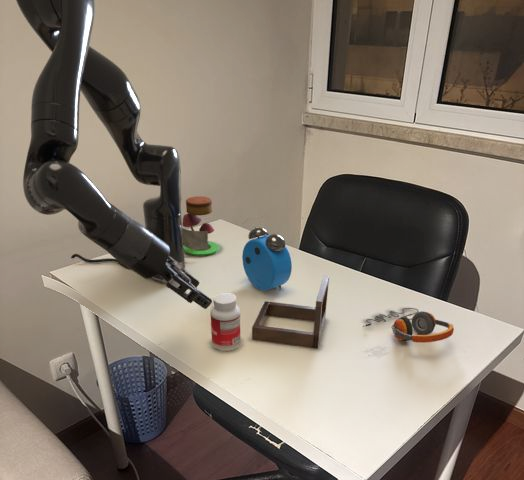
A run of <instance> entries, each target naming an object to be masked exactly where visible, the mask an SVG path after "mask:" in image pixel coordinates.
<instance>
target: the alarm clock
mask: <svg viewBox="0 0 524 480" xmlns="http://www.w3.org/2000/svg"><path fill="white" fill-rule="evenodd" d="M247 238H248V241H247V242H246V243H245V245H244V247H243V249H242V256H241V257H242V267H243V270H244V273H245V275H246V277H247V279H248V280H249V282H250V283H251V285H252V286H253V287H254V288H256V289H257V290H260V291H265V292H266V291H269V290H272V289H276V288H279V290H282V285H285V284H286V283H287V282H288V281H289V280H290V277H291V275H292V270H293V269H292V268H293V265H292V257H291V254H290V252H289V249H288V247H287V245H286V241H285V239H284V238H283V236H281V235H279V234H278V233H272V234H269V232H268V231H267V229H265V228H263V227H259V226H258V227H257V226H255V227H254V228H253V229H251V230H250V231H249V233H248V236H247Z"/></svg>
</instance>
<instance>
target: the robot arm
mask: <svg viewBox="0 0 524 480" xmlns="http://www.w3.org/2000/svg"><path fill="white" fill-rule="evenodd" d="M15 1H16V3H17V6H18V8H19V10H20V11H21V13H22V15H23V17H24V18H25V20H26V22H27V23H28V24H29V26H30V27H31V28H32V30H33V31H34V32H35V33H36V35H37V36H38V37H39V39H40V41H42V42H43V43H44V45H45V46H46V47H47V48H48V49H49V51H50V52H51V54H50V55H49V58H48V60H47V61H46V63H45V64H44V66H43V67H42V71H41V72H40V74H39V76H38V78H37V80H36V82H35V84H34V88H33V91H32V96H31V106H30V107H31V108H30V109H31V111H30V140H29V141H30V142H29V146H28V150H27V154H26V158H25V164H24V169H23V177H22V188H23V194H24V197H25V200H26V201H27V203H28V205H29V206H30V207H31V208H32V209H33V210H34V211H36V212H37V213H39V214H42V215H48V216H51V215H56V214H58V213H61V212H63V211H64V210H66V211H67V212H68V213H70V214H71V215H72V216H73V217H74V218H75V219H76V220H77V222H78V223H77V226H78V230H79V232H80V233H81V234H82V235H83V236H85V238H87V239H89V240H90V241H91V242H93V243H94V244H95V245H97V246H98V247H100V248H102V249H103V250H105V251H106V252H107V253H108V254H109V255H110V256H111V257H113V258H110V257H109V258H98V259H96V258H95V259H88V258H85V257H83V256H82V255H81V254H78V253H74V254H72V255H71V257H70V259H75V258H78V259H79V260H81V261H83V262H86V263H90V264H91V263H92V264H93V263H105V262H114V263H118V264H120V265H121V266H122V267H125V268H127V269H130V270H131V271H133V272H134V273H136V274H137V275H139V276H140V277H141V278H143V279H146V280H149V279H152V280H153V281H155V282H158V283H164V284H165V287H167V289H170V290H171V291H173V292H174V293H175V294H177V295H178V296H180V297H181V298H182V299H184V300H185V301H186V302H187V303H188V304H192V303H194V304H195V303H196V305H198V306H200V307H201V308H202V309H204V310H206V309H208V308H209V307H210V306H211V305H212V304H213V300H212V298H211V297H209V296H208V295H207V294H205V293H204V292H203V291H201V290H199V288H198V287H199V285H200V281H199V280H198V279H197V278H196V277H194V276H193V275H192V274H191V273H189V272H188V271H187V270H186V260H185V252H184V246H183V233H182V228H183V219H182V209H181V208H182V207H181V206H182V176H181V175H182V169H181V168H182V167H181V159H180V155H179V152H178V150H177V149H176V148H175V147H173V146H171V145H161V144H150V143H147V142H145V141H144V140H143V139H142V137H141V136H140V134H139V132H138V127H139V124H140V119H141V112H142V111H141V110H142V107H141V102H140V99H139V96H138V95H137V92H136V91H135V89H134V87H133V85H132V83H131V82H130V80H129V78H128V76H127V74H126V73H125V72H124V71H123V70H122V68H121V67H119V66H118V65H117V64H116V63H114V61H112V60H111V59H109V58H108V57H106V56H105V55H104V54H102V53H101V52H100V51H97V50H96V49H94V48H93V47H91V45H90V44H91V37H92V32H93V27H94V20H95V0H15ZM81 94H82V95H83V97H84V98H85V100H86V101H87V104H88V106H90V108H91V109H92V111H93V113H94V114H95V115H96V117H97V118H98V119H99V121H100V122H101V123H102V125H103V127H104V128H105V129H106V131H107V132H108V134H109V135H110V138H111V139H112V140H113V142H114V144H115V145H116V147H117V148H118V150H119V152H120V154H121V156H122V157H123V161H124V162H125V163H126V165H127V168H128V170H129V171H130V174H131V175H132V176H133V178H134V179H135V180H136V181H137V182H138V183H139V184H143V185H147V186H154V187H159V190H160V191H159V195H157V196H153V197H150V198H148V199H145V200H144V202H143V203H142V210H143V220H144V225H143V224H141V223H140V222H138V221H137V220H134V218H131V217H130V216H128V215H127V214H126V213H124V212H123V211H122V210H120V209H119V208H118V207H116V206H115V205H114V204H113V203H111V202H109V201H108V199H107V198H106V197H105V196H104V194H103V193H102V192H101V191H100V190H99V188H98V187H97V186H96V185H95V183H93V182H92V180H91V179H90V178H89V177H88V176H87V175H86V174H85V173H84V172H83V171H82V170H81V169H79V168H78V167H77V166H76V165H74V164H72V163H71V162H70V161H71V159H72V157H73V155H74V154H75V152H76V151H77V149H78V145H79V136H80V135H79V133H80V132H79V131H80V101H81ZM188 290H189V292H187V291H188Z"/></svg>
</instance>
